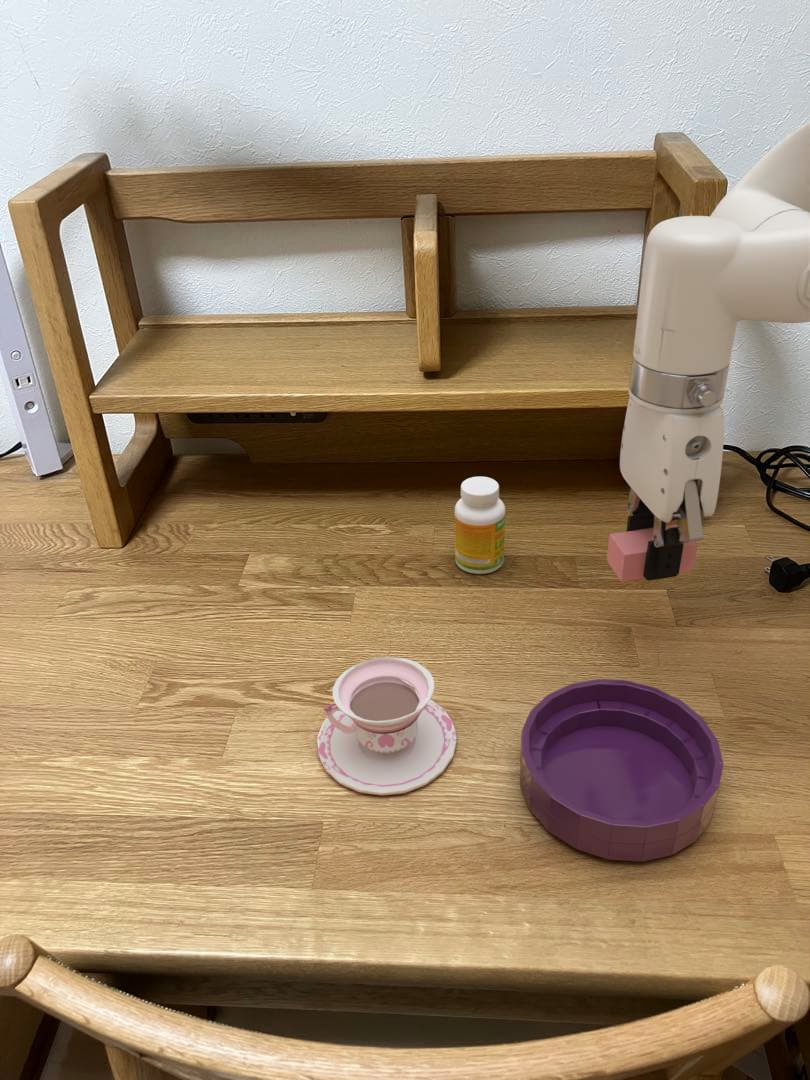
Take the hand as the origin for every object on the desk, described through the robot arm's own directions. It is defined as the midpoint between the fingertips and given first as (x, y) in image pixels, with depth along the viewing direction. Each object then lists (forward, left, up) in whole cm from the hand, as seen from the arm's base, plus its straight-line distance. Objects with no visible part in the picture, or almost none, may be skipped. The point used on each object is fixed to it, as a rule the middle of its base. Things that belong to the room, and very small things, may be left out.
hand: (650, 562), depth 83 cm
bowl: (+10, +17, -9) cm, 21 cm away
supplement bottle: (+12, -16, -9) cm, 22 cm away
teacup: (+27, +8, -9) cm, 29 cm away
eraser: (0, 0, 0) cm, 0 cm away
